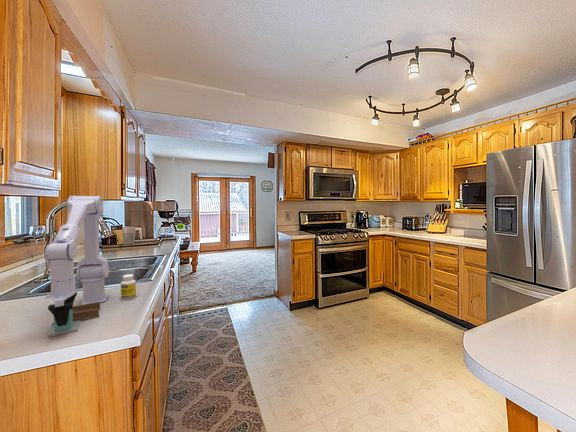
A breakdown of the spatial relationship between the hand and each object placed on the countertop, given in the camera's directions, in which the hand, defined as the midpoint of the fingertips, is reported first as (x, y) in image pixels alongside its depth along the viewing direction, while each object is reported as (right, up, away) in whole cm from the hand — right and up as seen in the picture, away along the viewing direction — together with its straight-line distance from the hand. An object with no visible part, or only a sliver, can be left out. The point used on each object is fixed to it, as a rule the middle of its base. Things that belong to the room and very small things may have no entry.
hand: (64, 320), depth 81 cm
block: (0, -2, 0) cm, 2 cm away
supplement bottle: (+4, -2, +27) cm, 27 cm away
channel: (-1, -2, +9) cm, 10 cm away
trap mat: (-7, -3, +6) cm, 9 cm away
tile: (0, -3, 0) cm, 3 cm away
